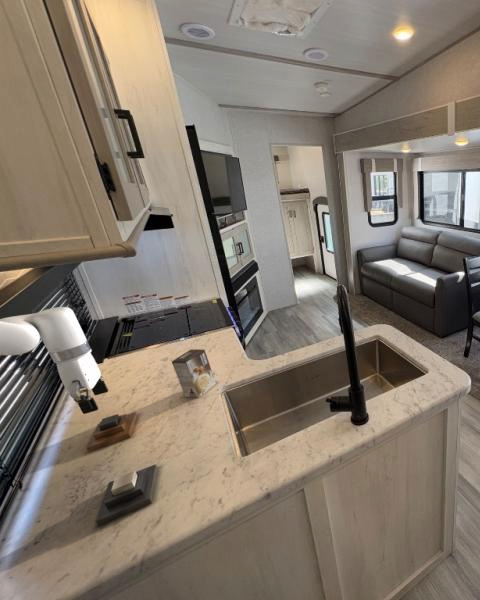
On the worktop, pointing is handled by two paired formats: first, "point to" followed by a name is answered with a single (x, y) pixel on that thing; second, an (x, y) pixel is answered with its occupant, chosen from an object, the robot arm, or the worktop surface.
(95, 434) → the brown stepped pedestal
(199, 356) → the coffee box
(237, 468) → the worktop surface
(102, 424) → the black key
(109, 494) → the black stepped pedestal
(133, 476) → the white key
